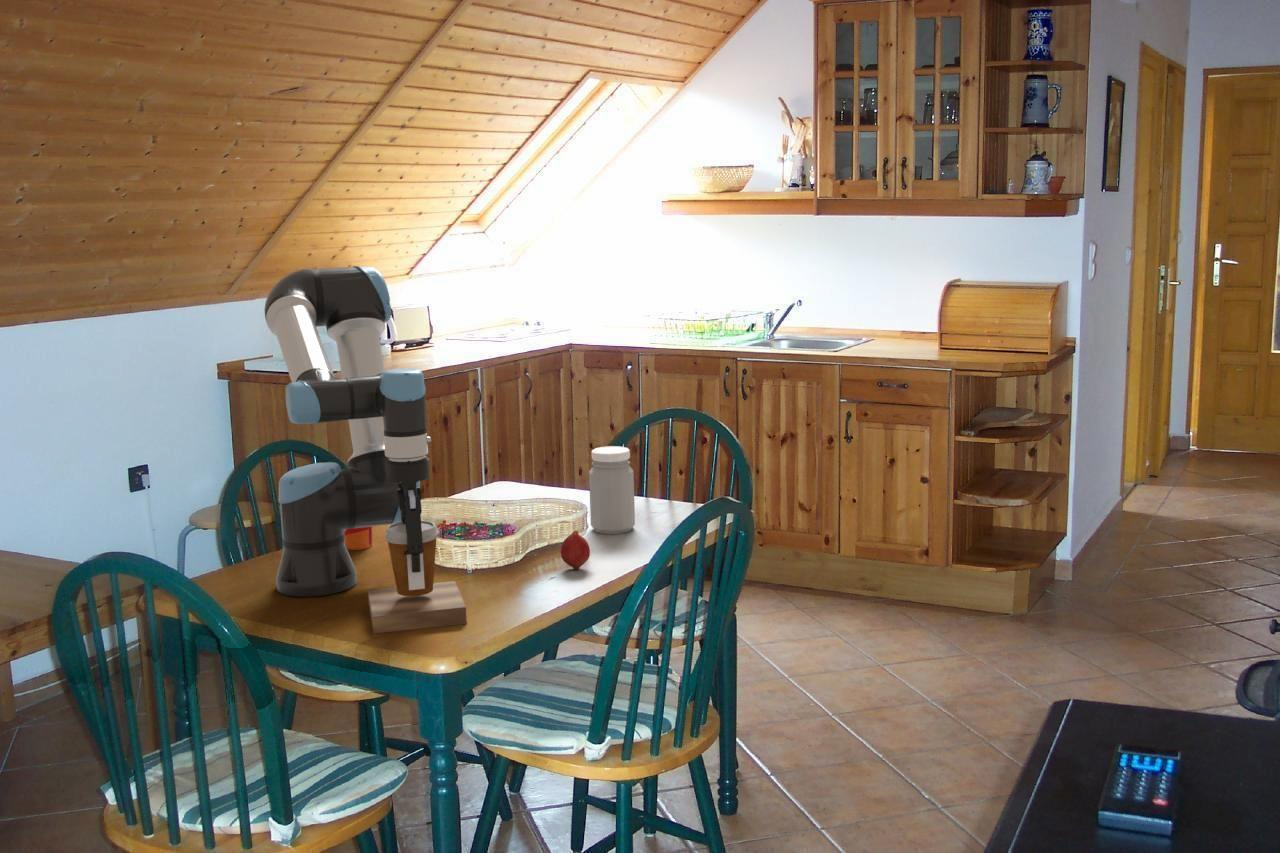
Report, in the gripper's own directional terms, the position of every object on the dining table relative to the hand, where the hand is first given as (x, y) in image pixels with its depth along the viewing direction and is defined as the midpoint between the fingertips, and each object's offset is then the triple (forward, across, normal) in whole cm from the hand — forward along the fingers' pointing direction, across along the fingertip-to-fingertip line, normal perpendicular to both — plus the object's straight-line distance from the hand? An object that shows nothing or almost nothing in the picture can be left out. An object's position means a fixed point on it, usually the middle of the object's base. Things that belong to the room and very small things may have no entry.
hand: (414, 581), depth 233 cm
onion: (+6, +18, -33) cm, 38 cm away
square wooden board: (+6, 0, 0) cm, 6 cm away
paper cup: (+6, +50, +8) cm, 51 cm away
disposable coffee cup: (+2, 0, 0) cm, 2 cm away
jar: (+6, +45, -47) cm, 65 cm away
